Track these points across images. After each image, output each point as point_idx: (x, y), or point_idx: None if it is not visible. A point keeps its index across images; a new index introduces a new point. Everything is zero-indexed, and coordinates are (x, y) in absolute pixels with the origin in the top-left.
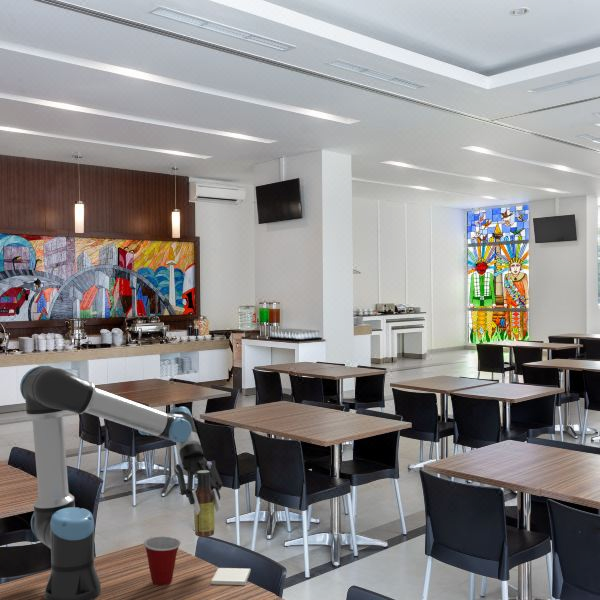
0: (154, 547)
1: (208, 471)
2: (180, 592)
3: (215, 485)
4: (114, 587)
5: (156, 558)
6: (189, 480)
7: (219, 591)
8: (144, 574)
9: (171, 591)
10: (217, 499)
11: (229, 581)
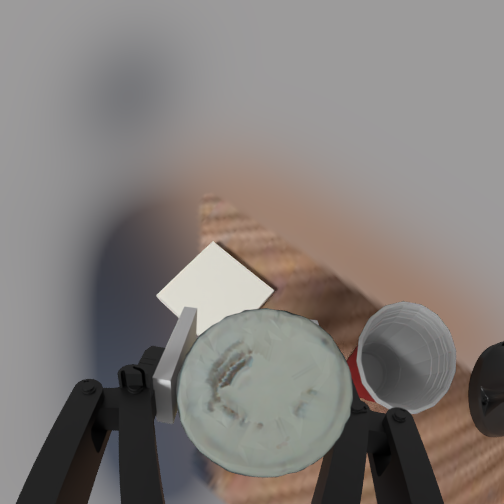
0: (407, 402)
1: (210, 342)
2: (348, 294)
3: (134, 396)
4: (447, 393)
5: (417, 331)
6: (361, 477)
7: (275, 250)
8: None
9: (362, 310)
10: (182, 330)
11: (240, 263)
